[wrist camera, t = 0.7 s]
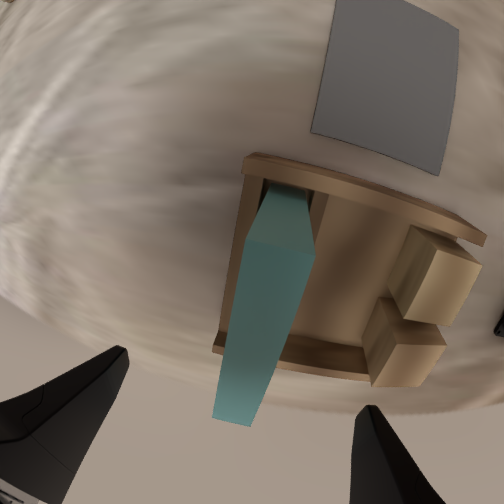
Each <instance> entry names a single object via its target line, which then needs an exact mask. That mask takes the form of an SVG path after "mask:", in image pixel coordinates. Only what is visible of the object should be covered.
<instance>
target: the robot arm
mask: <svg viewBox="0 0 504 504" xmlns="http://www.w3.org/2000/svg"><path fill="white" fill-rule="evenodd" d="M494 334H495V335H496V336H501V337H504V316H503V317H502V319H501V321H500V322H499V324H498V326H497V327H496V329H495V330H494ZM128 368H129V357H128V352H127V349H126V348H124V347H121V346H119V345H116V346H114V347H112V348H110V349H108V350H106V351H105V352H103V353H101V354H99V355H97V356H96V357H94V358H92V359H90V360H88V361H86V362H84V363H83V364H81V365H79V366H77V367H75V368H73V369H71V370H70V371H68V372H66V373H64V374H62V375H60V376H58V377H56V378H54V379H53V380H51V381H49V382H47V383H45V385H44V384H43V385H41V386H39V387H37V388H35V389H33V390H31V391H29V392H27V393H24V394H22V395H19V396H17V397H15V398H12V399H9V400H6V401H3V402H0V504H37V503H38V501H39V500H41V501H43V502H46V503H48V504H62V502H63V500H64V498H65V496H66V493H67V491H68V489H69V487H70V485H71V483H72V481H73V479H74V477H75V474H76V473H77V471H78V469H79V467H80V465H81V462H82V461H83V459H84V456H85V455H86V453H87V451H88V449H89V447H90V445H91V443H92V441H93V439H94V437H95V436H96V434H97V432H98V430H99V428H100V426H101V425H102V422H103V421H104V419H105V417H106V415H107V414H108V412H109V410H110V408H111V406H112V405H113V403H114V401H115V399H116V397H117V394H118V392H119V389H120V387H121V385H122V382H123V380H124V377H125V375H126V373H127V370H128ZM350 486H351V487H350V503H349V504H446V503H445V502H444V501H443V500H442V498H441V497H440V496H439V495H438V494H437V493H436V491H435V490H434V489H433V487H432V486H431V485H430V484H429V482H428V481H427V479H426V478H425V476H424V475H423V473H422V472H421V471H420V469H419V467H418V466H417V464H416V463H415V461H414V460H413V458H412V457H411V455H410V454H409V452H408V451H407V449H406V448H405V446H404V445H403V443H402V442H401V440H400V439H399V438H398V436H397V434H396V433H395V432H394V430H393V429H392V427H391V426H390V424H389V423H388V421H387V420H386V418H385V417H384V415H383V414H382V412H381V411H380V409H379V408H378V407H377V406H376V405H366V406H365V407H364V408H363V409H362V410H361V411H360V413H359V414H358V415H357V416H356V419H355V427H354V436H353V445H352V454H351V485H350Z"/></svg>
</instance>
